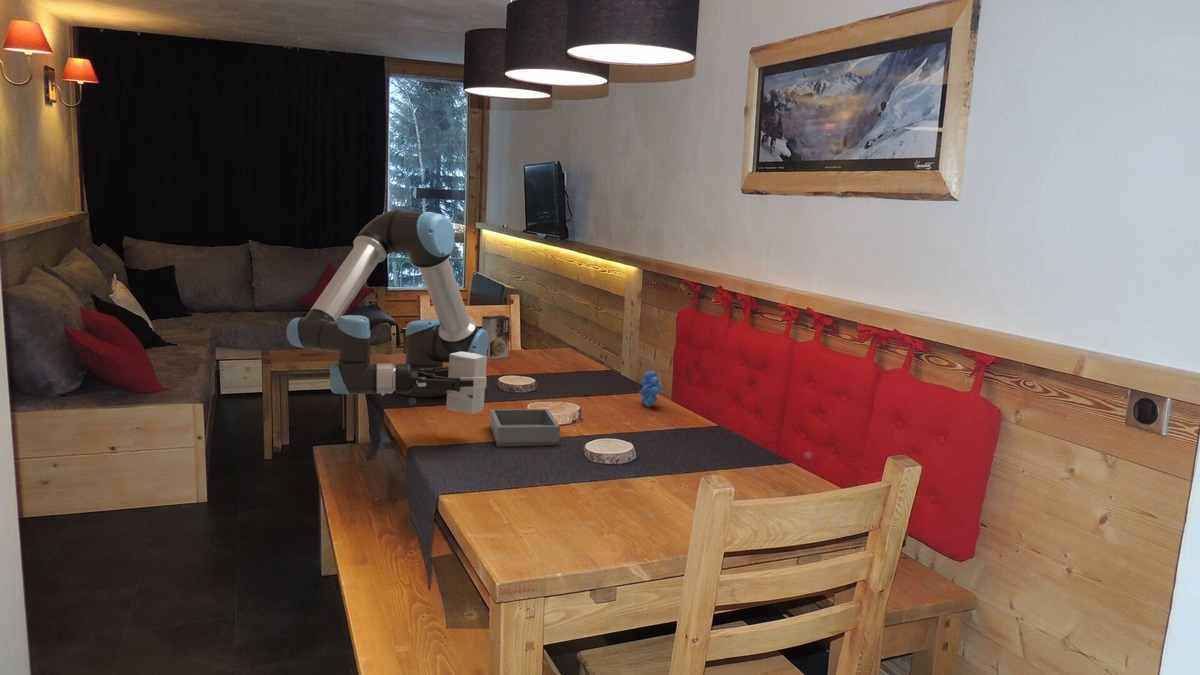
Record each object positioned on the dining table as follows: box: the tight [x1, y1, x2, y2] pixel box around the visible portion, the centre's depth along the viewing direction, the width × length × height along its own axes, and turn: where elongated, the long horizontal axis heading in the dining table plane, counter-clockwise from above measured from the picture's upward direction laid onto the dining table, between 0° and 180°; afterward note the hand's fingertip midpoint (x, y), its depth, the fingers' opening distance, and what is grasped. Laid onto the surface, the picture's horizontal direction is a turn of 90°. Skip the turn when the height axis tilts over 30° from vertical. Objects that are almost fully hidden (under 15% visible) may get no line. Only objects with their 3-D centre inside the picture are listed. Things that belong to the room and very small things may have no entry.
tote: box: [489, 408, 561, 447], centre depth 223 cm, size 18×16×5 cm
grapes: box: [639, 370, 663, 408], centre depth 260 cm, size 12×7×12 cm, turn 18°
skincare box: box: [445, 351, 488, 415], centre depth 215 cm, size 8×6×15 cm
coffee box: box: [481, 314, 511, 360], centre depth 326 cm, size 9×6×16 cm
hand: (484, 377), depth 216 cm, fingers closed on skincare box, 9 cm apart
